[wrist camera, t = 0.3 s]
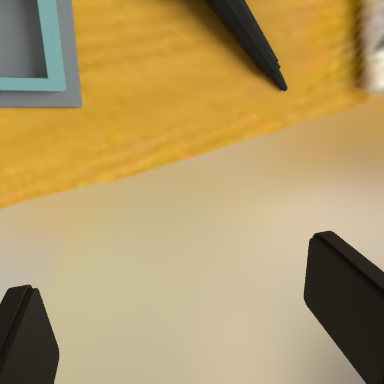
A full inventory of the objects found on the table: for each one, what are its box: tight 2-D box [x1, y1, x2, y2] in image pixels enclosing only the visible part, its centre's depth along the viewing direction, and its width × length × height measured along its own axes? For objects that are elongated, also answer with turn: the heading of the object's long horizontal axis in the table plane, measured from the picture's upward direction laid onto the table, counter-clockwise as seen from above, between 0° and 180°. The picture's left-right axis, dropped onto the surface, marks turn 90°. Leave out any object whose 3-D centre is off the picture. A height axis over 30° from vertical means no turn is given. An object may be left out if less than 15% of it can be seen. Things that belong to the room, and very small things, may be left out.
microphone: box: [206, 0, 287, 91], centre depth 34 cm, size 6×6×20 cm
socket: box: [0, 0, 82, 107], centre depth 30 cm, size 14×13×3 cm
